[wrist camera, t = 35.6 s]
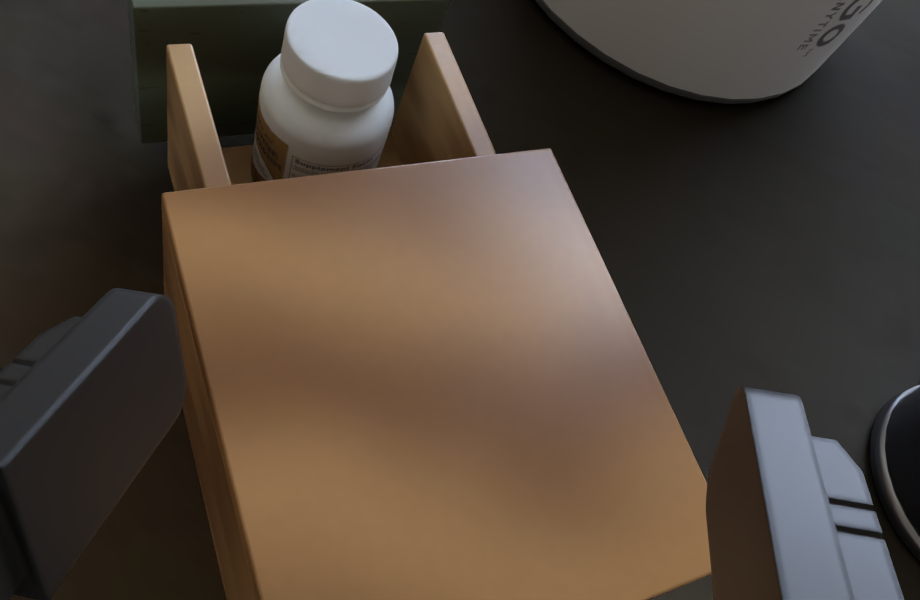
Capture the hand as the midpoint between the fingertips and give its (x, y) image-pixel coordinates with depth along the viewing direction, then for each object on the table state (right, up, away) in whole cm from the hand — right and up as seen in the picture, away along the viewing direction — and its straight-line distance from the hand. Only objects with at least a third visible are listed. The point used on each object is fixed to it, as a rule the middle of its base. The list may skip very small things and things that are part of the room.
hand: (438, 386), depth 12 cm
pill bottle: (-6, +5, +19) cm, 21 cm away
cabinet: (-2, -5, +17) cm, 18 cm away
